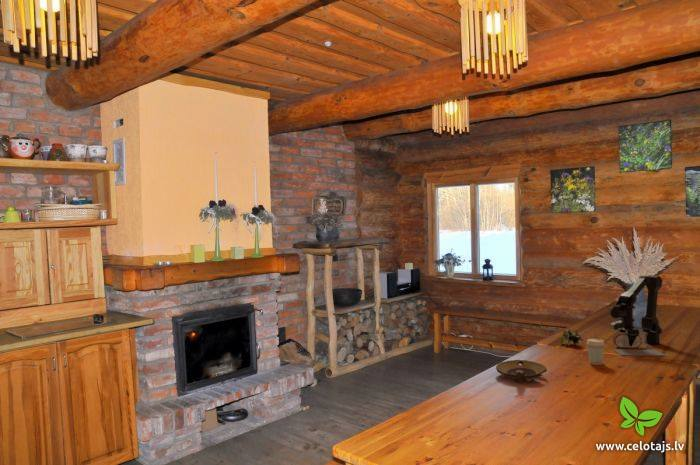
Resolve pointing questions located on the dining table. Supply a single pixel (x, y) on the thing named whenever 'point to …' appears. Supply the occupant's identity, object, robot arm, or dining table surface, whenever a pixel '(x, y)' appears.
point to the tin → (625, 341)
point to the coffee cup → (595, 351)
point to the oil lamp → (521, 369)
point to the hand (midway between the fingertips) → (627, 344)
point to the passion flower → (570, 337)
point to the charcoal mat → (638, 352)
